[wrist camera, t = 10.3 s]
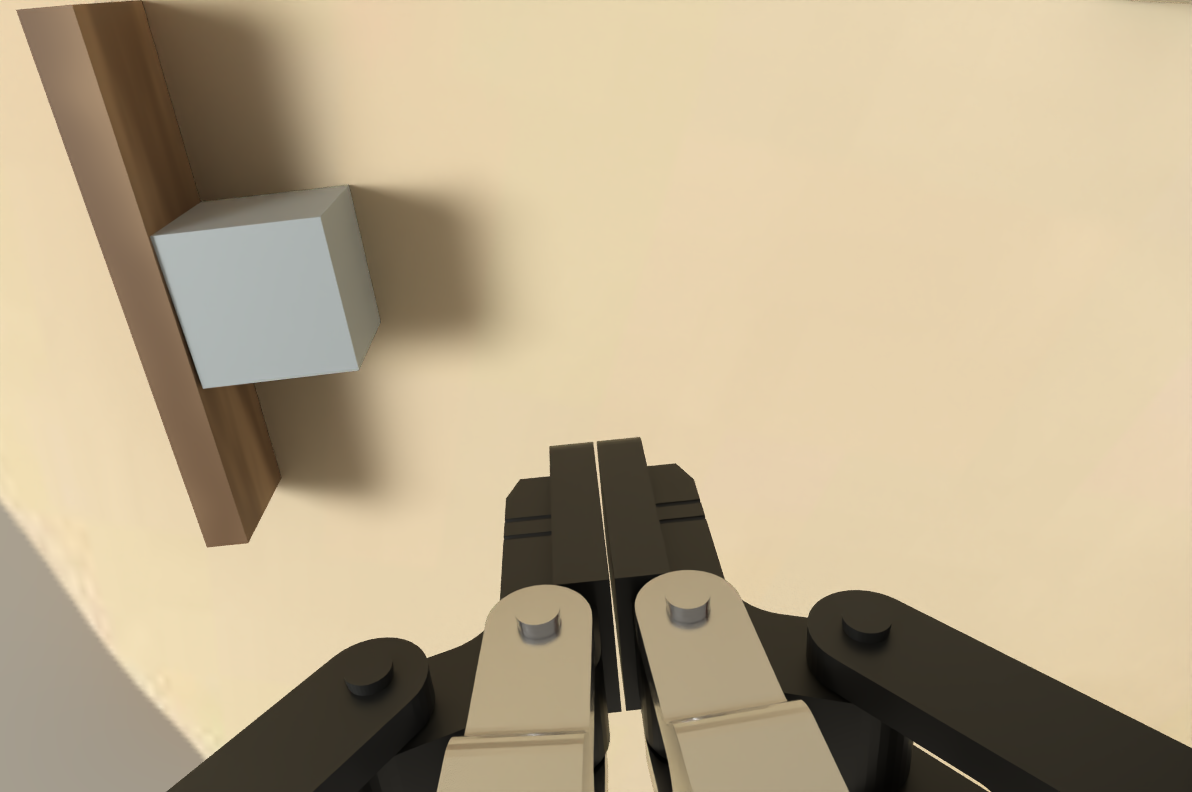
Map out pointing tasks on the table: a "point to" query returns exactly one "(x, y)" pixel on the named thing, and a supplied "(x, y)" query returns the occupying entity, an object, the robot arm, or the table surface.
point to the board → (149, 244)
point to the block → (270, 286)
